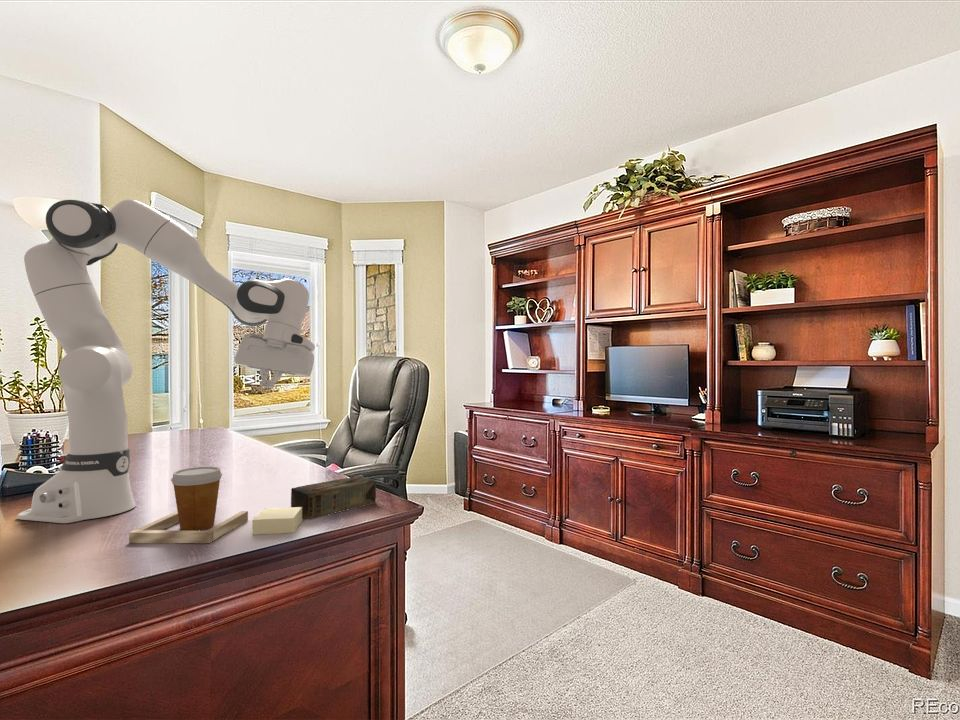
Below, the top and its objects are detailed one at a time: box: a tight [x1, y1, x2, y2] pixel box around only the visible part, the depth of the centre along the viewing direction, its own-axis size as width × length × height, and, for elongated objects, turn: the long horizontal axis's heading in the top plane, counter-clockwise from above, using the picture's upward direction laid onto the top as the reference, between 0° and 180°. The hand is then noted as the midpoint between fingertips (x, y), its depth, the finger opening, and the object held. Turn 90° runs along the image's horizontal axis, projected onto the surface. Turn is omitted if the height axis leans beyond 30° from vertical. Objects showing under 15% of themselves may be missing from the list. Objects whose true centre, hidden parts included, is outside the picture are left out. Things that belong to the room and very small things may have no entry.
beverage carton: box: [290, 474, 377, 521], centre depth 119 cm, size 8×19×7 cm, turn 138°
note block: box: [251, 506, 303, 536], centre depth 106 cm, size 8×8×3 cm
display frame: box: [128, 510, 249, 544], centre depth 104 cm, size 16×14×2 cm
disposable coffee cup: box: [170, 466, 223, 531], centre depth 106 cm, size 10×10×12 cm
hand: (266, 387), depth 131 cm, fingers closed
